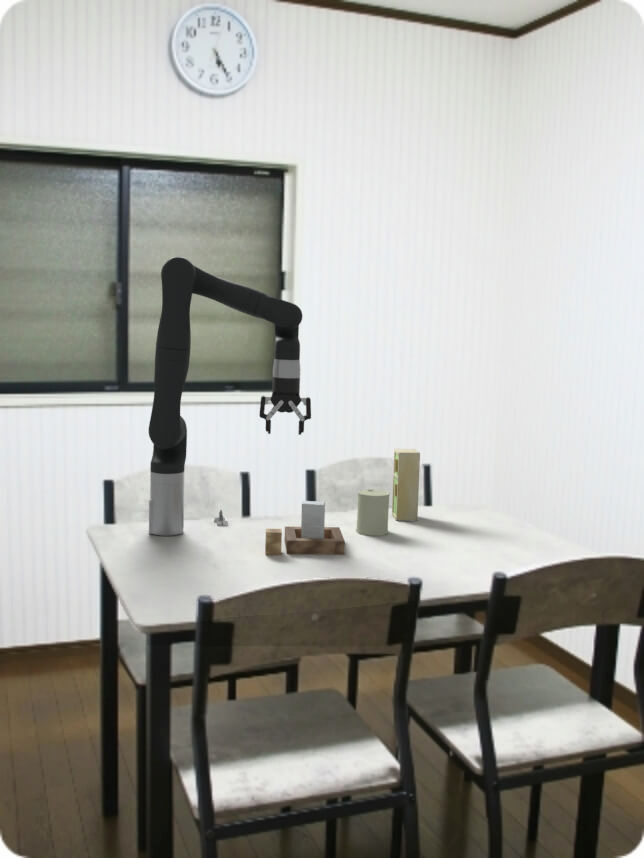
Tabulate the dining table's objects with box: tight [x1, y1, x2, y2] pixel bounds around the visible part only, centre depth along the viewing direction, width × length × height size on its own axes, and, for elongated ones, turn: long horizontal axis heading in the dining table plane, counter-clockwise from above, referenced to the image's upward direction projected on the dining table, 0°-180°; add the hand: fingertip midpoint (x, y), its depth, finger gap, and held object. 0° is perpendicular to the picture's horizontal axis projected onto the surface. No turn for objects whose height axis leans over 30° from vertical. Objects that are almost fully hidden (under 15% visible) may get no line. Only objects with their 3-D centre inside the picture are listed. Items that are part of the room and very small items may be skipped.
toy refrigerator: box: [391, 448, 421, 522], centre depth 283 cm, size 8×7×21 cm
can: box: [355, 488, 390, 537], centre depth 265 cm, size 9×9×12 cm
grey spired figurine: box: [213, 509, 229, 526], centre depth 265 cm, size 15×7×4 cm, turn 17°
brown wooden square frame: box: [284, 526, 346, 555], centre depth 247 cm, size 15×15×4 cm
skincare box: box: [300, 500, 326, 539], centre depth 246 cm, size 6×4×12 cm
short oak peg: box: [264, 528, 283, 556], centre depth 239 cm, size 4×4×6 cm
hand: (284, 433), depth 257 cm, fingers open, 8 cm apart
